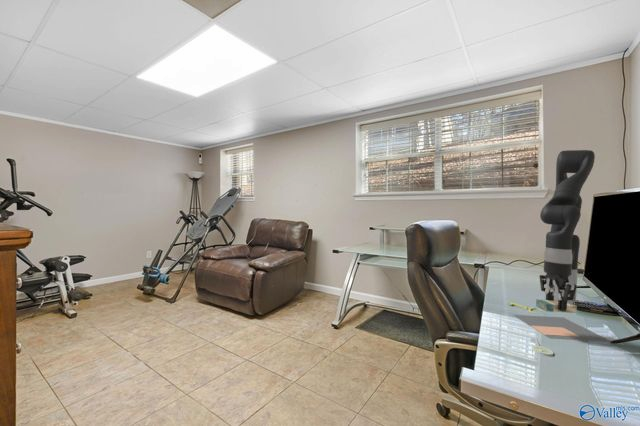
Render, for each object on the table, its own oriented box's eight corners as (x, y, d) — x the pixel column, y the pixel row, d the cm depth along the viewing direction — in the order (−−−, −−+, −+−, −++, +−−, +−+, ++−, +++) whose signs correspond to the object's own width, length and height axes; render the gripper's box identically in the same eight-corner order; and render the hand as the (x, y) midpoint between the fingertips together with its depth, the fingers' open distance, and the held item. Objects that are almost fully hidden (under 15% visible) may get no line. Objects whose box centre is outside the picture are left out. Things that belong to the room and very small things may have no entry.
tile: (564, 307, 98) (564, 300, 98) (576, 313, 93) (576, 305, 93) (535, 306, 99) (536, 299, 99) (546, 311, 94) (546, 304, 94)
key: (508, 305, 124) (508, 301, 124) (542, 312, 117) (543, 307, 117) (508, 310, 118) (509, 305, 118) (544, 317, 111) (545, 312, 111)
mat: (512, 315, 111) (512, 314, 111) (563, 318, 109) (563, 317, 109) (549, 339, 91) (549, 337, 91) (612, 343, 90) (612, 341, 89)
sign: (544, 336, 93) (555, 356, 80) (543, 338, 93) (554, 358, 80) (525, 332, 96) (533, 350, 83) (525, 334, 96) (532, 353, 83)
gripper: (587, 265, 89) (584, 316, 89) (553, 257, 103) (551, 301, 103) (563, 264, 89) (560, 315, 89) (532, 256, 103) (530, 300, 104)
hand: (555, 307), depth 96 cm, fingers closed on tile, 5 cm apart
